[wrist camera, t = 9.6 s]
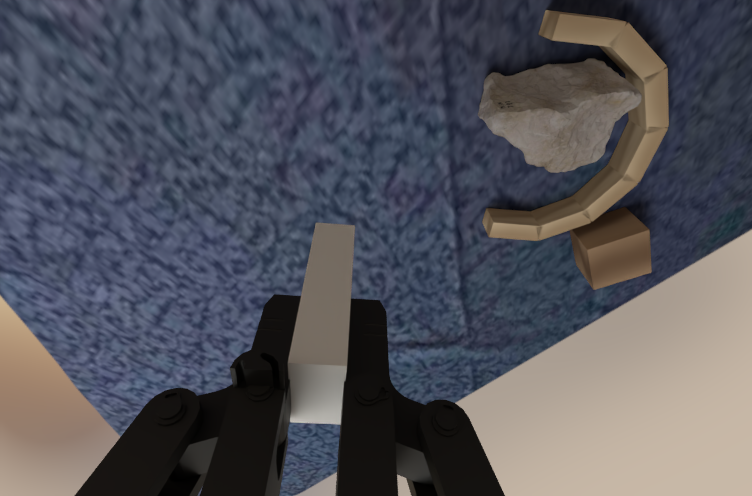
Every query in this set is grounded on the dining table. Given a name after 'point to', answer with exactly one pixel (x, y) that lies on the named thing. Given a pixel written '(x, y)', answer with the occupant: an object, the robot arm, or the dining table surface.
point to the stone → (558, 111)
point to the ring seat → (632, 146)
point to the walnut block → (612, 248)
